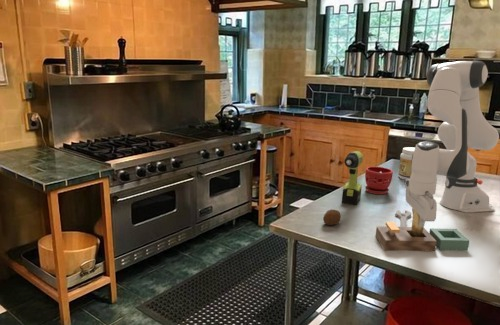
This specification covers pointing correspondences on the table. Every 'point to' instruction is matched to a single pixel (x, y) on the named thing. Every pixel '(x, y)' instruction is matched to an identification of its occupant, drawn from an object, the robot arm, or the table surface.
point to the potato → (332, 217)
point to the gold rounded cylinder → (416, 226)
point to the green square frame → (449, 239)
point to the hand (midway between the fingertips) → (418, 222)
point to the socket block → (405, 240)
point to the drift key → (392, 228)
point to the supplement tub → (406, 163)
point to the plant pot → (378, 179)
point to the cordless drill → (352, 179)
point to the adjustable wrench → (403, 217)
